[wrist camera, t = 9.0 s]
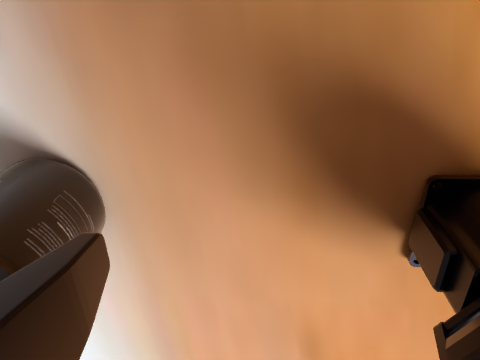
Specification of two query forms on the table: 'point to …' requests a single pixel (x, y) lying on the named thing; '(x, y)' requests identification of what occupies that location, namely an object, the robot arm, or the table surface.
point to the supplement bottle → (43, 210)
